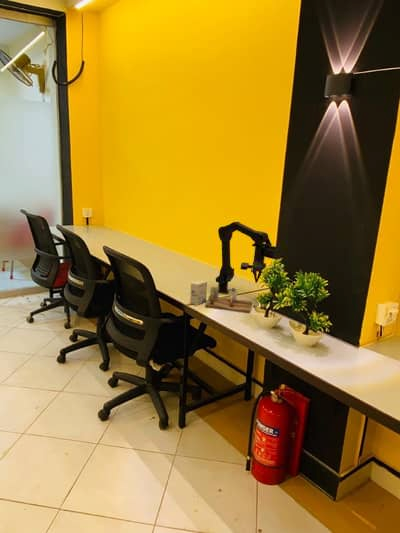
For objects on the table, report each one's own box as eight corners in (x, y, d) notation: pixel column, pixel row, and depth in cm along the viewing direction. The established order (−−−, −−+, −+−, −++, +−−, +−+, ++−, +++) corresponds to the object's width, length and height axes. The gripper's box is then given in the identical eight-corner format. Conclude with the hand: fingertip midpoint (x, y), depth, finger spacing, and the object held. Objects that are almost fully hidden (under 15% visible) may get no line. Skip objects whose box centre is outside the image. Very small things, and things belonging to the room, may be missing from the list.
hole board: (209, 299, 222) (209, 294, 221) (251, 305, 218) (252, 300, 217) (204, 307, 210) (205, 302, 209) (249, 313, 206) (250, 308, 205)
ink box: (199, 299, 221) (200, 279, 218) (206, 301, 218) (208, 281, 215) (189, 303, 214) (190, 282, 211) (196, 305, 211) (198, 284, 208)
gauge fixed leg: (211, 296, 221) (212, 286, 220) (218, 297, 220) (219, 287, 219) (208, 302, 212) (208, 291, 211) (215, 303, 211) (216, 292, 210)
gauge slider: (229, 299, 219) (230, 287, 217) (236, 300, 218) (237, 288, 217) (227, 304, 210) (228, 292, 208) (234, 305, 210) (235, 293, 208)
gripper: (240, 256, 209) (237, 284, 213) (276, 260, 205) (272, 289, 209) (243, 252, 219) (240, 278, 223) (276, 256, 216) (273, 283, 220)
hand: (256, 282), depth 219 cm, fingers closed
